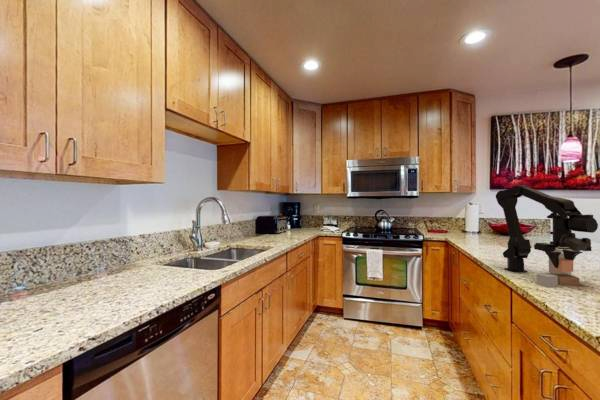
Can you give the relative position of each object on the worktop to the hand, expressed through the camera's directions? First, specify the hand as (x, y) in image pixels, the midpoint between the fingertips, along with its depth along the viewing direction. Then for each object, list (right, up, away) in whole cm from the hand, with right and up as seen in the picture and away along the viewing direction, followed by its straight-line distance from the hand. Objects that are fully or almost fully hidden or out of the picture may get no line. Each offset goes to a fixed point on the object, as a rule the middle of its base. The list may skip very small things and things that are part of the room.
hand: (562, 267), depth 114 cm
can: (+10, -6, +12) cm, 17 cm away
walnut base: (0, -7, 0) cm, 7 cm away
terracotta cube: (0, -1, 0) cm, 1 cm away
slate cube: (-9, -7, -3) cm, 11 cm away
